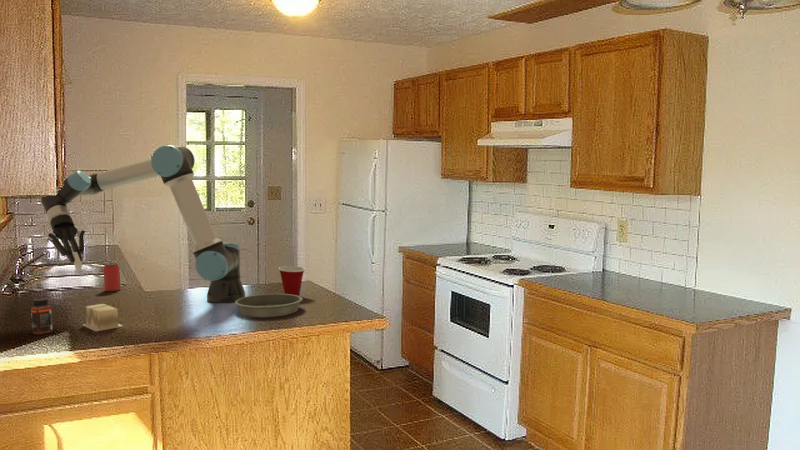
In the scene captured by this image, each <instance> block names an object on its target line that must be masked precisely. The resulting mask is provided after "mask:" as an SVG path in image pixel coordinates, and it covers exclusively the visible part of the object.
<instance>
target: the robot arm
mask: <svg viewBox="0 0 800 450" xmlns="http://www.w3.org/2000/svg"><path fill="white" fill-rule="evenodd" d="M195 160H196V159H195V156H194V154H193V152H192V151H191V150H190V149H189V148H187V147H186V146H183V145H174V144H165V145H162V146H159V147H157V148H156V149H155V150H154V152H153V154H152V155H151V158H150V159H147V160H143V161H139V162H135V163H134V162H133V163H132V164H131V163H130V164H128V165H127V164H126V165H124V166H119V167H115V168H113V169H109V170H105V171H100V172H97V173H93V174H90V175H87V174H86V173H85V172H84V171H81V170H75V171H74V172H73V173H71V174H69V175H68V176H67V177H66V178H65V179H64V180H63V181H64V186H63V188H62V189H61V190H59V191H58V194H57V195H56V196H46V197H40V196H39V198H40V202H41V204H42V206H43V208H44V211H45V213H46V216H47V219H48V221H49V224H50V227H51V229H52V232H51V233H50V232H49V233H48V235H47V240H48V241H49V242H51V243H52V244H53V245H54V247H55V248H56V250H57V251H58V252H59V254H60V255H61V257H67V258H68V260H69V262H70V263H71V264H72V263H73V265H74V267H75V271H82V268H83V263H82V260H83V257H82V255H83V254H84V252H85V242H84V241H85V240H84V237H85V233H86V231H85V230H78V228H77V227H76V226H75V223H74V220H73V219H72V216H71V213H70V211H69V208H68V206H67V205H68V204H69V203H71V202H72V201H74V199H76V198H77V197H80V196H87V195H92V196H93V195H97V194H99V193H102V192H105V191H110V190H113V189H117V188H120V187H124V186H125V187H126V186H128V185H132V184H136V183H141V182H145V181H148V180H152V179H155V178H159V177H160V178H161V181H162V183H163V184H164V185H163V186H166V187H168V188H169V189H170V191H171V193H172V196H173V198H174V200H175V203H176V205H177V208H178V210H179V213H180V215H181V217H182V219H183V222H184V224H185V227H186V229H187V231H188V233H189V234H188V235H189V236H190V238H191V241H192V242H193V245H194V247H193V249H192V253H193V256H194V258H195V264H194V268H195V271H196V273H197V275H198V276H199V277H200V278H201V279H203V280H206V281H208V282H209V283H210V284H209V287H208V291H207V293H206V300H207V302H210V303H215V304H216V303H220V304H221V303H233V302H234V303H235V301H236V300H238V299H240V298H243V297H247V296H246V291H245V288H244V285H243V283H242V279H241V257H240V256H241V253H240V252H241V250H240V245H239V244H238V243H237V242H223V240H222V239H221V238H217V236H216V234H215V231H214V228H213V227H212V223H211V222H210V219H209V216H208V214H207V213H206V210H205V207H204V205H203V203H202V201H201V197H200V195H199V193H198V190H197V188H196V186H195V184H194V181H193V178H194V175H195V173H194V170H193V168H194V165H195V162H196V161H195ZM76 235H77V237H78V243H77V241H76V238H75V237H76Z"/></svg>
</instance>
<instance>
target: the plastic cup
mask: <svg viewBox="0 0 800 450" xmlns="http://www.w3.org/2000/svg"><path fill="white" fill-rule="evenodd" d="M278 270H279V274H280V278H281V283H282V289H283V294H291V295H297V296H300V295H301V294H300V293H301V288H302V282H303V281H302V280H303V276H304V273H305V271H306V268H305V267H302V266H295V265H291V266H289V265H287V266H286V265H283V266H279V267H278Z"/></svg>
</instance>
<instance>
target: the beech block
mask: <svg viewBox="0 0 800 450" xmlns="http://www.w3.org/2000/svg"><path fill="white" fill-rule="evenodd" d="M84 308H85V309H84V310H85V322H86V323H85V324H89V325H91V326H93V327H95V328H98V329H100V330H101V329H107V328H112V327H118V324H119V314H118V308H116V307H113V306H111V305H108V304H105V303H100V304H99V303H98V304H91V305H85V307H84ZM118 328H119V327H118ZM112 329H113V328H112ZM107 330H108V329H107ZM101 331H102V330H101Z"/></svg>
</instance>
